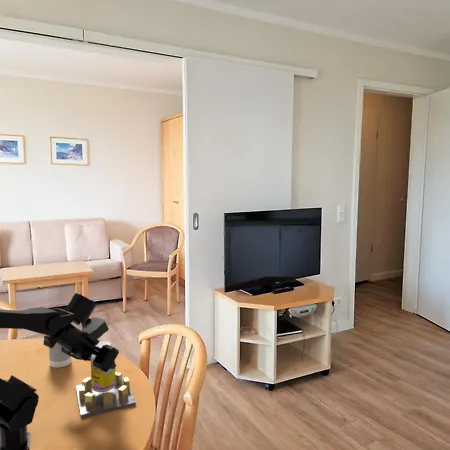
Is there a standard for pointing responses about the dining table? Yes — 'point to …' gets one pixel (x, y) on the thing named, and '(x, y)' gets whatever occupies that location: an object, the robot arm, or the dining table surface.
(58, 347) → the spray bottle
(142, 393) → the dining table surface
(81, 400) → the grey tray with blocks
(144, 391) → the dining table surface
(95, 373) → the supplement bottle
